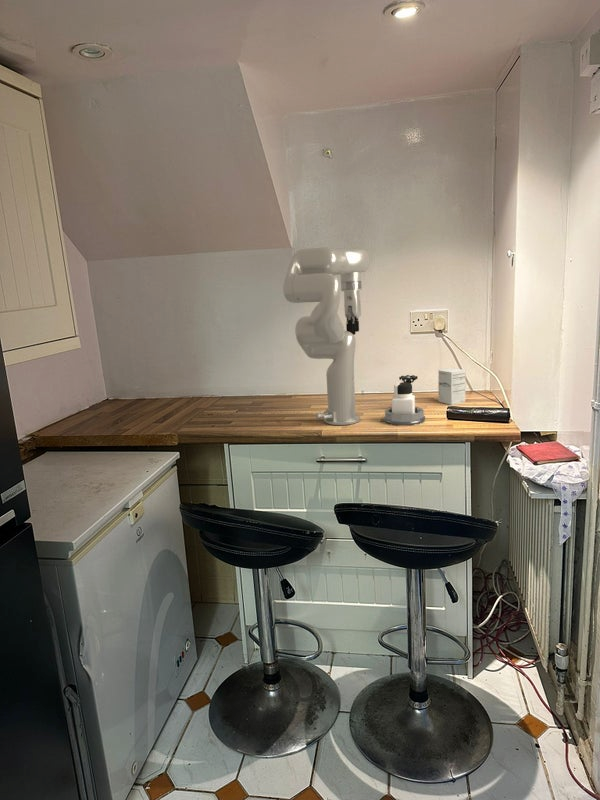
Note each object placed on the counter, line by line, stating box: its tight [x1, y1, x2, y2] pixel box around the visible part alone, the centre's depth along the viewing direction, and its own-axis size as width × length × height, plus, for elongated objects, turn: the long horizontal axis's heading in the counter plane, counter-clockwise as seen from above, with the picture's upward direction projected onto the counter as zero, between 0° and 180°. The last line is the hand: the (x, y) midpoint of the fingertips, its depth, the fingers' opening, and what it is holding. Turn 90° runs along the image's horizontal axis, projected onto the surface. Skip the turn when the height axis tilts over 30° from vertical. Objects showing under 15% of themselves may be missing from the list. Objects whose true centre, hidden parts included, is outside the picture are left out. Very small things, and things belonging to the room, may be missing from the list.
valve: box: [399, 374, 418, 395], centre depth 213 cm, size 7×7×12 cm
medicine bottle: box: [391, 381, 416, 414], centre depth 196 cm, size 7×7×12 cm
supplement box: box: [437, 367, 467, 406], centre depth 218 cm, size 7×7×13 cm
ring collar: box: [383, 406, 426, 426], centre depth 197 cm, size 14×14×4 cm
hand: (353, 333), depth 215 cm, fingers open, 9 cm apart
